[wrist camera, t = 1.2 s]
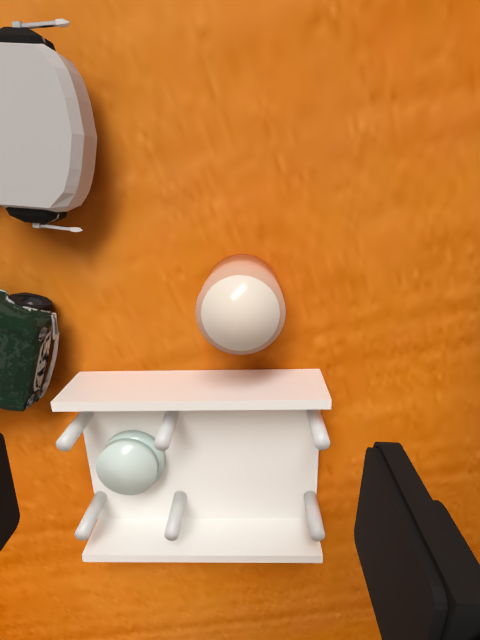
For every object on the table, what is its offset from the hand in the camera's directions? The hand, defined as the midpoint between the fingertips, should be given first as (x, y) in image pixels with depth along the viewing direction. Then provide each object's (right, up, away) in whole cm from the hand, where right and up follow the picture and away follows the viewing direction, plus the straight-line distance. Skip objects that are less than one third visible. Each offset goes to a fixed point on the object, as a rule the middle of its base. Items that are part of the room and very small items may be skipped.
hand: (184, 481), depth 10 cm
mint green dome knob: (-8, -8, +25) cm, 28 cm away
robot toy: (-16, +18, +19) cm, 30 cm away
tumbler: (+2, +6, +21) cm, 23 cm away
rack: (-2, -8, +26) cm, 28 cm away
